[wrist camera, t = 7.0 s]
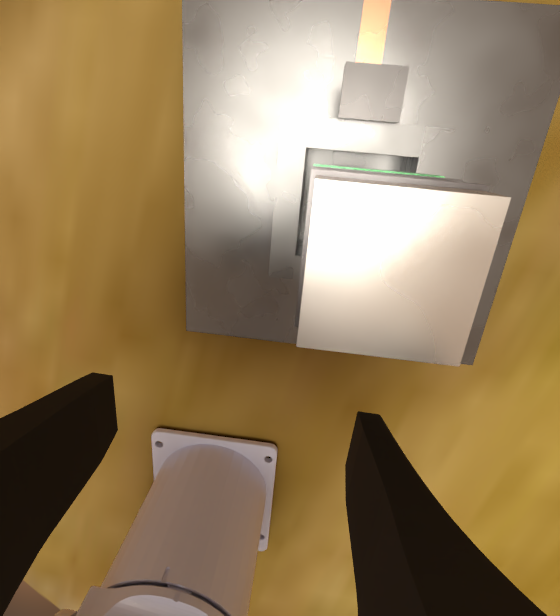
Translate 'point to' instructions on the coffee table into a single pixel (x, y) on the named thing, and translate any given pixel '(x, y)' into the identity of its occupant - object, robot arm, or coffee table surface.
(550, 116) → the metal plate with socket
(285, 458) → the coffee table surface
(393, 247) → the column
